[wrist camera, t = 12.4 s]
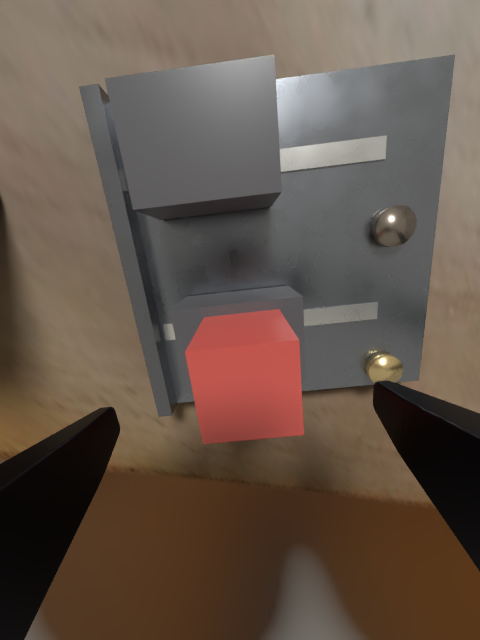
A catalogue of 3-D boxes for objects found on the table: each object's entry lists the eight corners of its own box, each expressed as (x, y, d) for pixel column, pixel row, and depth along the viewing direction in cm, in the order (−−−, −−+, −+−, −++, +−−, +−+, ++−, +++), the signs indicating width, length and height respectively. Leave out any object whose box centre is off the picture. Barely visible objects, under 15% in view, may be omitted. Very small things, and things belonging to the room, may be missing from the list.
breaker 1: (264, 110, 13) (274, 55, 10) (271, 206, 15) (281, 191, 11) (142, 126, 14) (104, 78, 10) (160, 220, 15) (132, 209, 11)
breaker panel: (427, 79, 15) (481, 30, 12) (401, 368, 20) (433, 391, 17) (114, 121, 16) (79, 86, 12) (171, 390, 21) (158, 416, 18)
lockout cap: (279, 309, 13) (299, 339, 8) (283, 376, 14) (303, 434, 9) (203, 317, 13) (185, 352, 8) (214, 383, 14) (202, 444, 10)
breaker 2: (288, 285, 16) (302, 296, 12) (291, 355, 18) (306, 384, 14) (186, 296, 16) (169, 310, 13) (198, 364, 18) (186, 396, 14)
